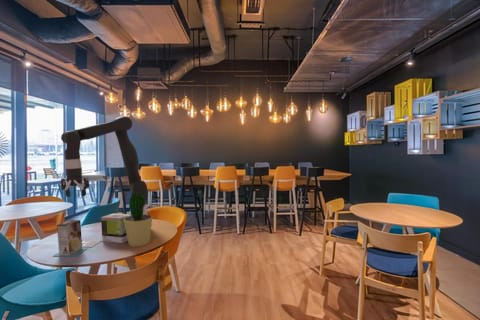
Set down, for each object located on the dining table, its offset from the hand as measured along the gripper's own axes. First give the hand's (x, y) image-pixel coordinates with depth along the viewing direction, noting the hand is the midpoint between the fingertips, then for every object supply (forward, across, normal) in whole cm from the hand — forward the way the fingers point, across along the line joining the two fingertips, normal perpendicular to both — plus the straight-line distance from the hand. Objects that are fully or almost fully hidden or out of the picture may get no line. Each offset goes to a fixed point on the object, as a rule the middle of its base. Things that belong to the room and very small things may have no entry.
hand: (76, 196), depth 147 cm
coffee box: (+28, 0, +8) cm, 29 cm away
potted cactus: (+30, -32, -4) cm, 43 cm away
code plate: (+29, +1, -4) cm, 29 cm away
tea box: (+29, -16, -11) cm, 35 cm away
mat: (+28, 0, +8) cm, 30 cm away
